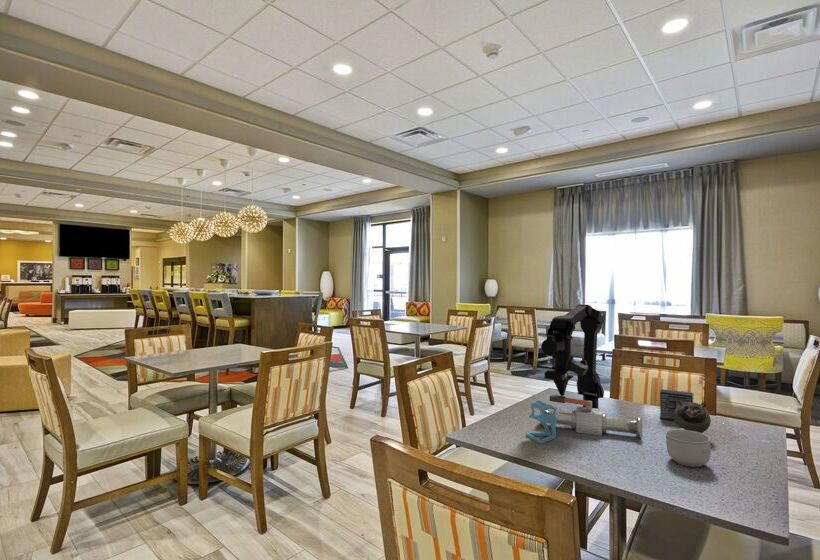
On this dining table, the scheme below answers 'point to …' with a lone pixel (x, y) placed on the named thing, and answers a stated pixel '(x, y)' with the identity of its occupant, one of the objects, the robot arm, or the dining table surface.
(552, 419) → the chair
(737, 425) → the dining table surface
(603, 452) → the dining table surface
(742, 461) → the dining table surface
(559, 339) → the robot arm
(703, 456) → the teacup
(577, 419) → the valve manifold
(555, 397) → the valve lever
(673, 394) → the small box
